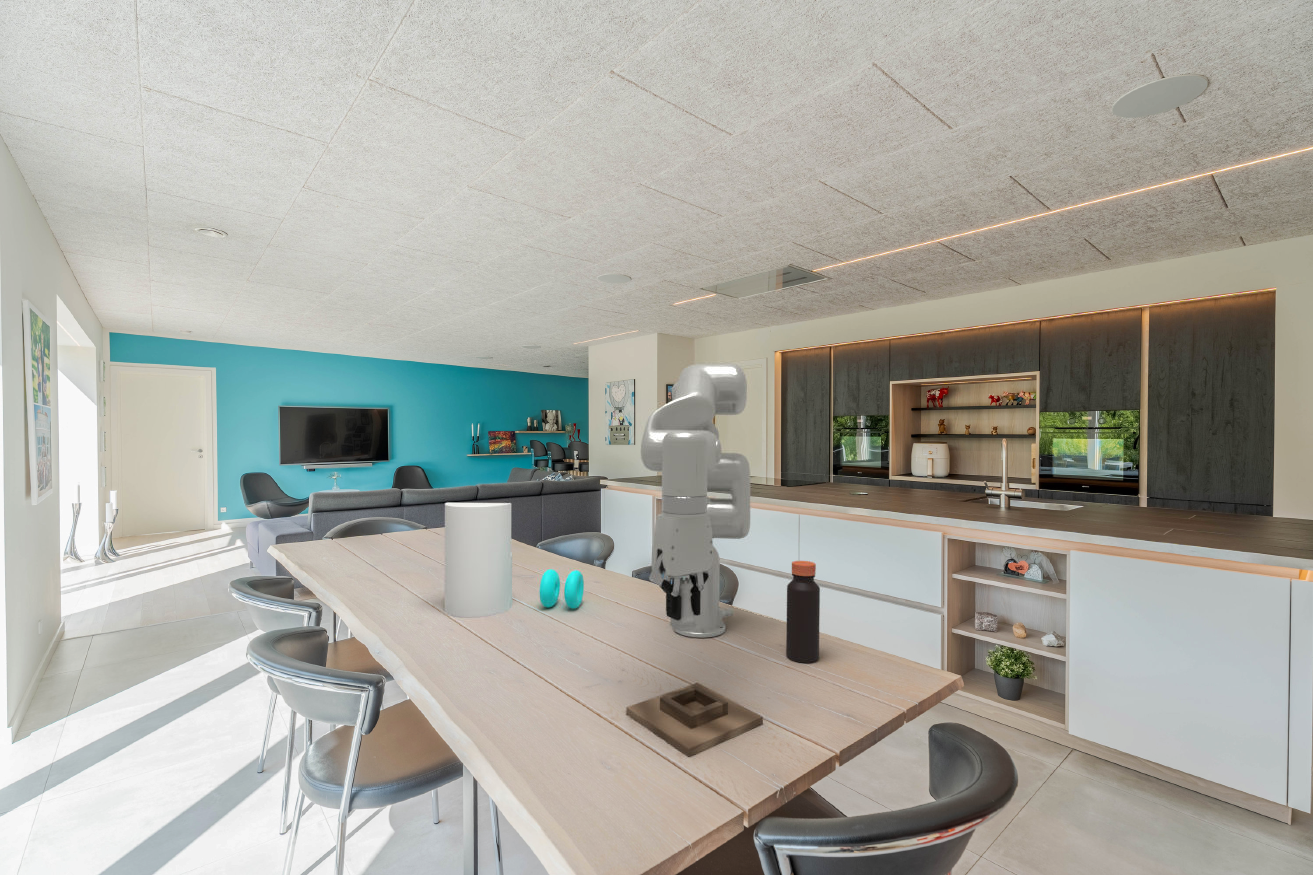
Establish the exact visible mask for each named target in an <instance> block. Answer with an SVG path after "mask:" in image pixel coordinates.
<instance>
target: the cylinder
mask: <svg viewBox="0 0 1313 875" xmlns="http://www.w3.org/2000/svg"><path fill="white" fill-rule="evenodd" d="M512 606H513V553H512V503H511V502H508V503H507V502H445V503H444V613H445V614H446V615H448V616H451V617H456V618H468V619H469V618H470V619H471V618H483V617H490V616H495V615H499V614H502V613H505V612H507V611H509V610H510V609H511V608H512Z"/></svg>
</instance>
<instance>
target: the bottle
mask: <svg viewBox="0 0 1313 875" xmlns="http://www.w3.org/2000/svg"><path fill="white" fill-rule="evenodd" d="M816 570H817V568H816V563H815V562H813V561H809V560H795V561H792V562H791V575H792V580H791V581H790V582H789V583H787V585H786V637H785V638H786V643H785V644H786V645H785V647H786V648H785V649H786V651H785V652H786V655H785V656H786V657H787V658H788V659H790V660H791V661H793V662H797V663H799V664H800V663H802V664H813V663H815V662H817V661H818V660H819V659H820V615H821V614H820V611H821V610H820V609H821V608H820V607H821V606H820V604H821V603H820V601H821V598H820V597H821V596H820V595H821V593H820V592H821V589H820V588H821V587H820V586H819V585H818V583H816V581H815V578H816V572H817V571H816Z"/></svg>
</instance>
